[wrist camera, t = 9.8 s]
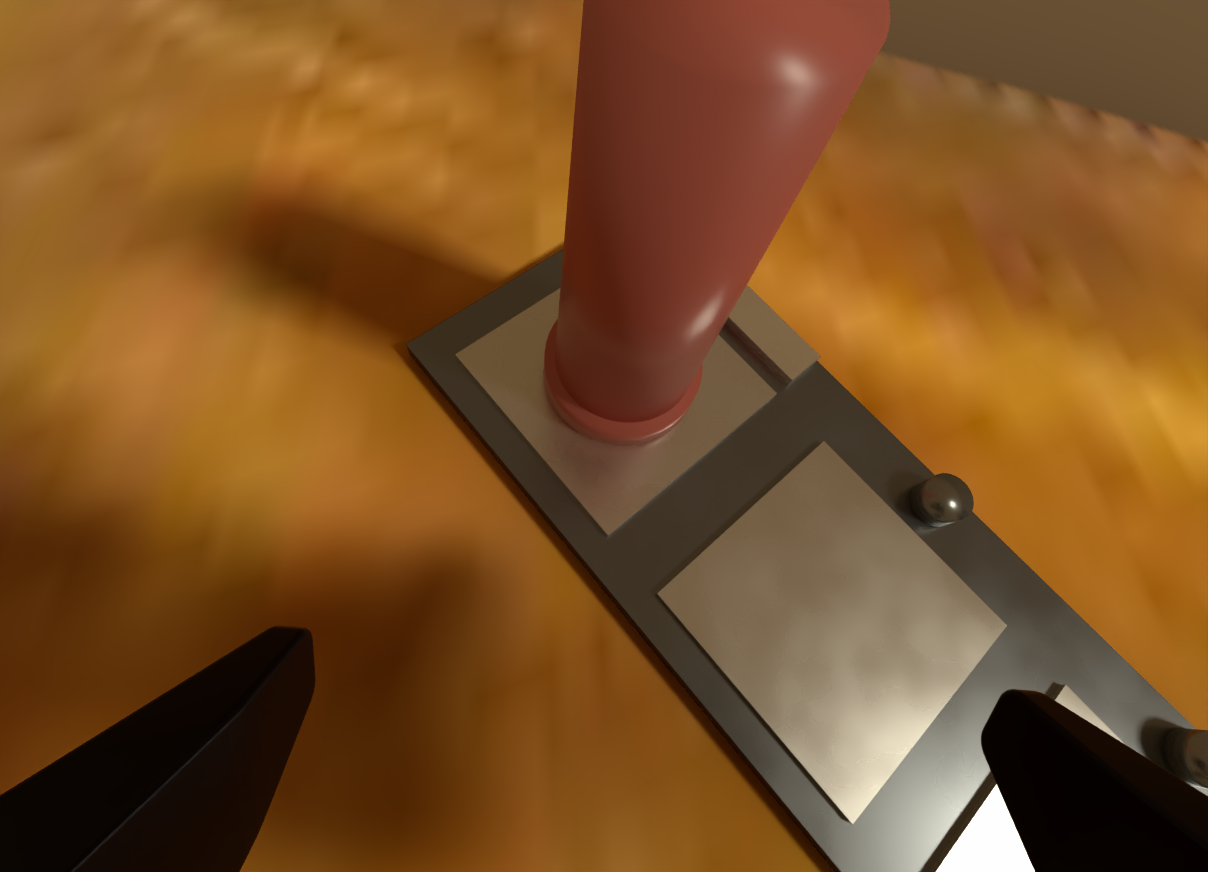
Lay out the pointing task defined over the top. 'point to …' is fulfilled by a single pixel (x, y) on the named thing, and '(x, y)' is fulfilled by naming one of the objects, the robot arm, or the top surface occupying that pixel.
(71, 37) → the top surface
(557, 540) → the top surface
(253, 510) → the top surface
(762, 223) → the red joystick handle
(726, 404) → the board
